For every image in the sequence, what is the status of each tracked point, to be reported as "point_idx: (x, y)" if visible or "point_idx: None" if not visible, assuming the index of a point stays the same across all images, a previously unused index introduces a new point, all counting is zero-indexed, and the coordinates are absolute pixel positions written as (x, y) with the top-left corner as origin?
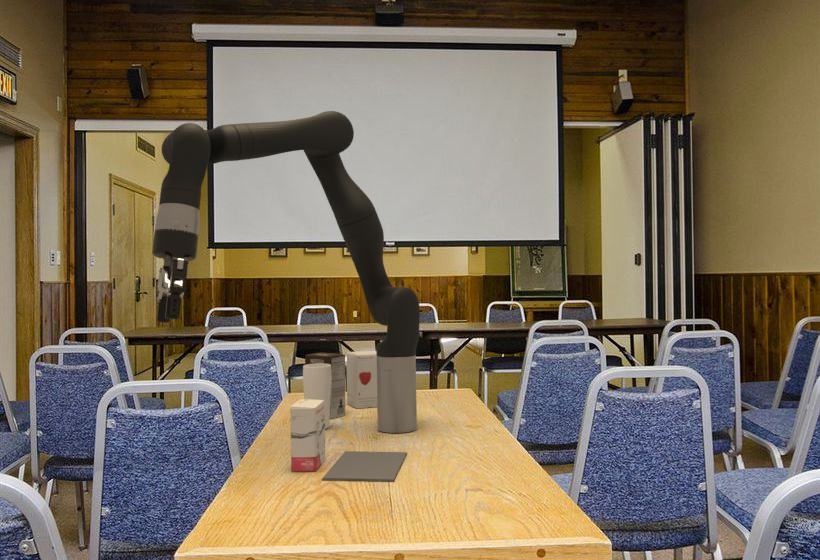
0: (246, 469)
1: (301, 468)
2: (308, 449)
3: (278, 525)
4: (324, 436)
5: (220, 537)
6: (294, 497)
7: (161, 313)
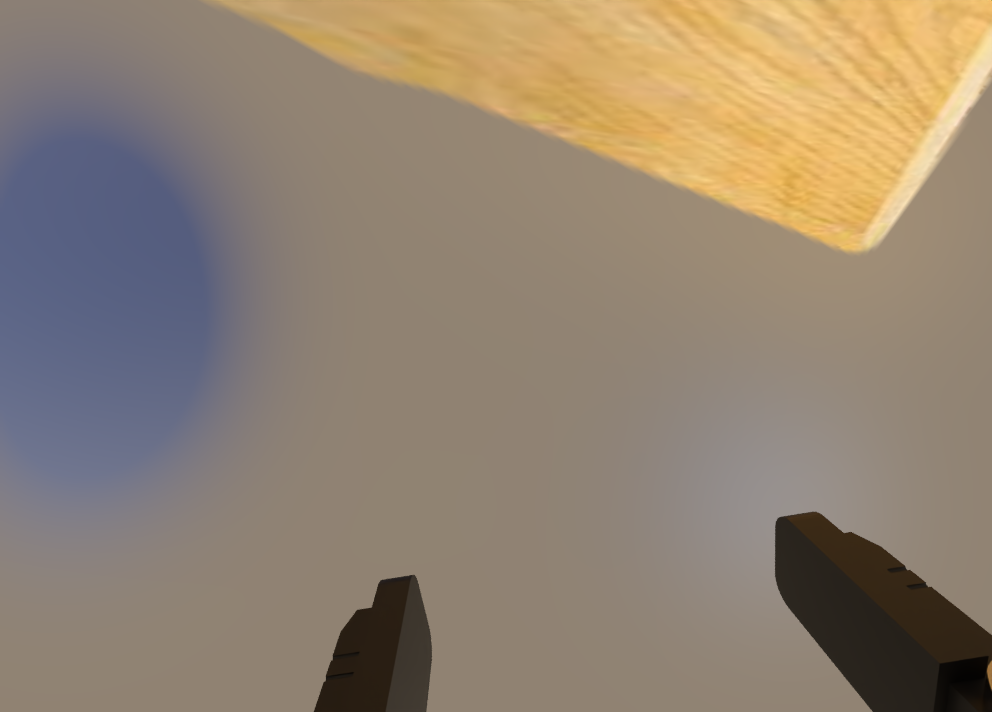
0: (464, 82)
1: None
2: None
3: (868, 88)
4: None
5: (851, 200)
6: (748, 8)
7: (419, 690)
